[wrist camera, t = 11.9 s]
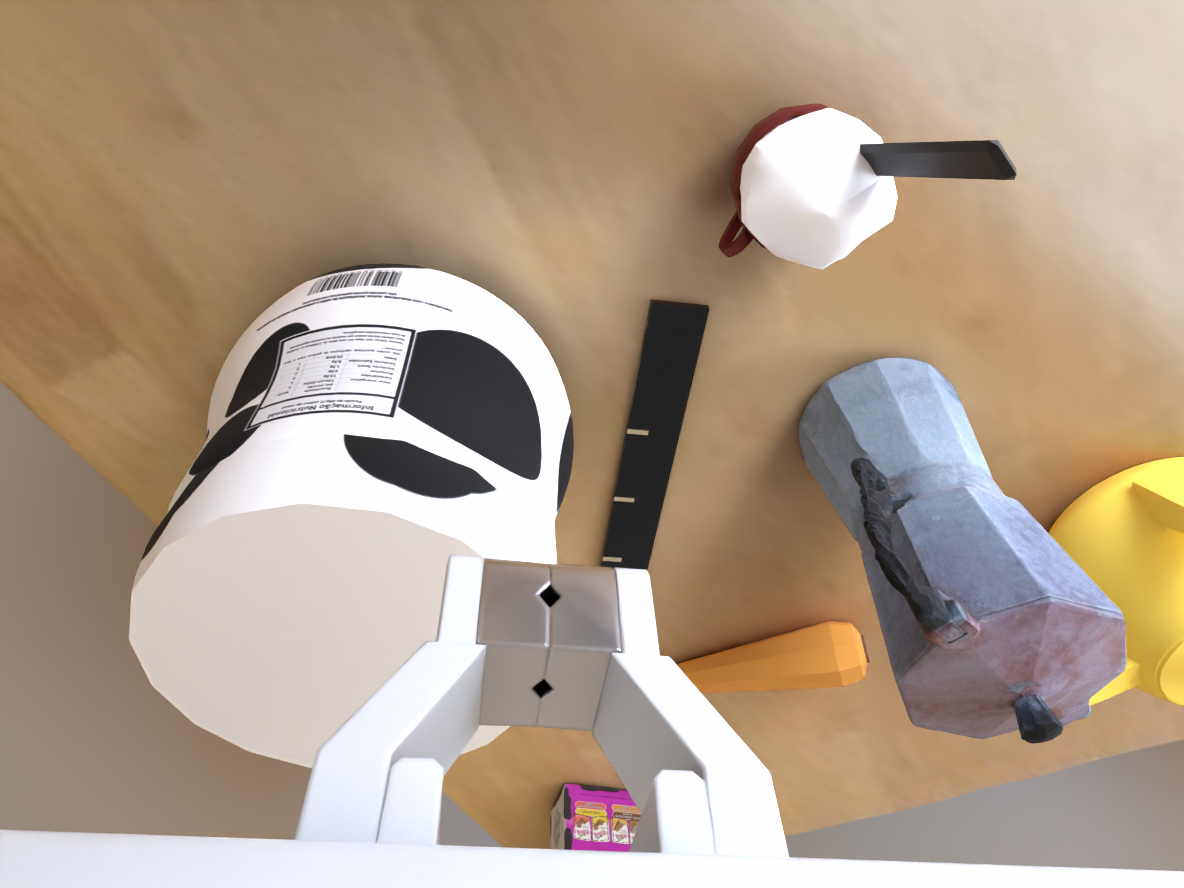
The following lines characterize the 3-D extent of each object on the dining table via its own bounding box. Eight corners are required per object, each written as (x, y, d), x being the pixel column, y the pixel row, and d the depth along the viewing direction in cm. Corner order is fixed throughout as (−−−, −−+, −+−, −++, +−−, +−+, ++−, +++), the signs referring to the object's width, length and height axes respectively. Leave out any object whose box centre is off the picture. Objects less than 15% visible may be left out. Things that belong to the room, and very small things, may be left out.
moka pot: (885, 528, 53) (1031, 838, 37) (710, 404, 46) (793, 712, 30) (1016, 431, 48) (1244, 734, 32) (842, 280, 42) (1019, 563, 26)
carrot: (855, 603, 58) (863, 636, 53) (868, 659, 59) (877, 696, 54) (583, 650, 63) (571, 684, 58) (600, 701, 64) (589, 738, 59)
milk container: (430, 553, 52) (383, 831, 38) (179, 387, 44) (0, 660, 30) (637, 391, 46) (676, 654, 31) (385, 162, 38) (281, 373, 23)
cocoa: (718, 251, 41) (770, 383, 31) (679, 129, 37) (723, 236, 28) (912, 178, 39) (1030, 294, 29) (890, 42, 36) (1016, 125, 26)
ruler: (650, 299, 42) (651, 303, 42) (708, 305, 43) (709, 309, 42) (586, 636, 58) (586, 642, 57) (629, 639, 58) (629, 644, 58)
